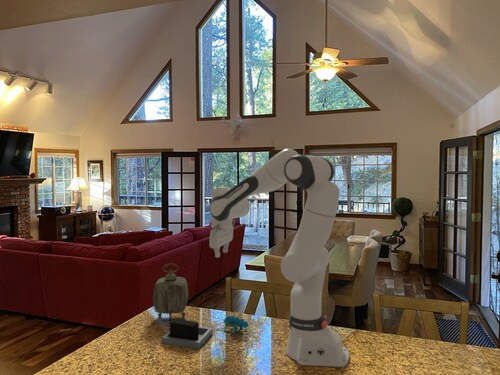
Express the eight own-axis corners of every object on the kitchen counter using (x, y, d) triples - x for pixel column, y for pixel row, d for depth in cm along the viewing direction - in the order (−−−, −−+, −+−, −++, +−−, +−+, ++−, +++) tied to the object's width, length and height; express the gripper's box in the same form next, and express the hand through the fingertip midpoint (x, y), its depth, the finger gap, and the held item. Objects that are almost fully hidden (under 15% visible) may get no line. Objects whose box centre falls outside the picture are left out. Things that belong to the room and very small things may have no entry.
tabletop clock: (188, 314, 173) (187, 260, 172) (186, 322, 164) (185, 266, 163) (156, 315, 172) (155, 261, 171) (152, 323, 163) (151, 266, 162)
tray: (212, 334, 153) (212, 328, 153) (198, 349, 140) (198, 342, 140) (178, 329, 157) (178, 323, 157) (161, 343, 144) (161, 337, 144)
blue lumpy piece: (253, 326, 157) (242, 314, 151) (249, 340, 153) (238, 329, 147) (230, 324, 162) (219, 313, 156) (226, 337, 159) (215, 327, 152)
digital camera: (200, 338, 148) (200, 320, 147) (193, 344, 143) (193, 326, 142) (177, 334, 152) (177, 317, 151) (170, 339, 147) (170, 322, 146)
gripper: (219, 227, 155) (219, 260, 156) (235, 220, 174) (235, 250, 175) (205, 226, 157) (205, 259, 157) (222, 220, 176) (222, 249, 177)
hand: (221, 254), depth 166 cm, fingers open, 8 cm apart
